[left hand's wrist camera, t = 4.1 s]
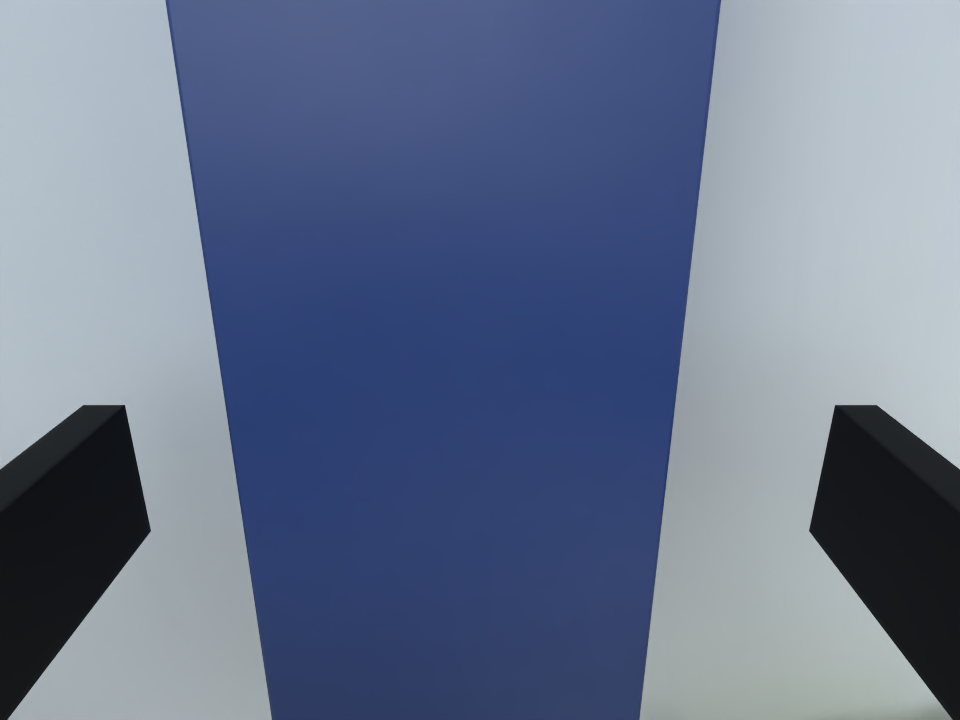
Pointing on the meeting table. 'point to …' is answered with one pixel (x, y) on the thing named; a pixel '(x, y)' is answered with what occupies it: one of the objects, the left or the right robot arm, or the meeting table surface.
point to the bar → (449, 335)
